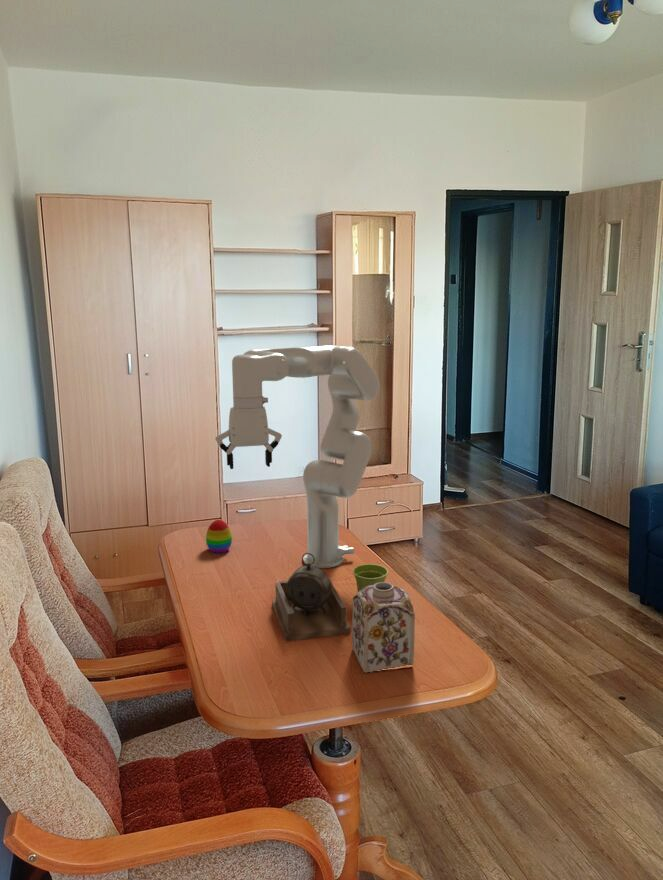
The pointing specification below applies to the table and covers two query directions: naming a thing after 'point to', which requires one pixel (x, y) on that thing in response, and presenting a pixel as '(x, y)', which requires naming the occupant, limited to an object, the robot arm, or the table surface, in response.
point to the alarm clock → (309, 587)
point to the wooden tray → (309, 616)
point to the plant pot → (369, 575)
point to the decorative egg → (218, 536)
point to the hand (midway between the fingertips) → (249, 466)
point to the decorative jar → (383, 627)
